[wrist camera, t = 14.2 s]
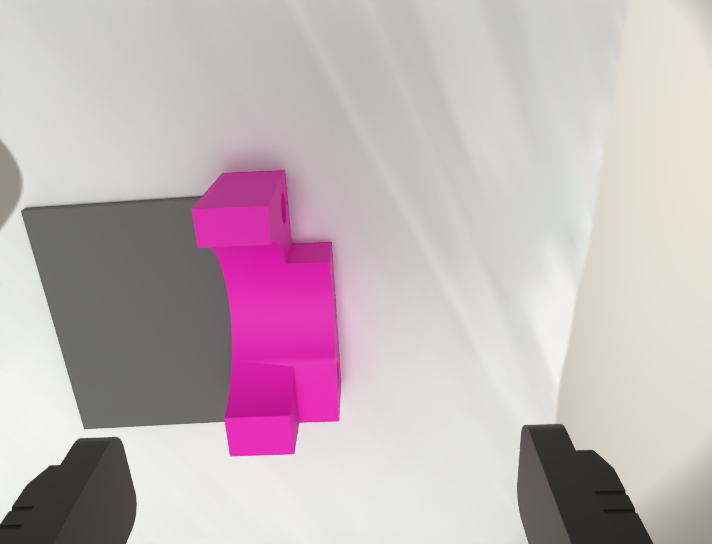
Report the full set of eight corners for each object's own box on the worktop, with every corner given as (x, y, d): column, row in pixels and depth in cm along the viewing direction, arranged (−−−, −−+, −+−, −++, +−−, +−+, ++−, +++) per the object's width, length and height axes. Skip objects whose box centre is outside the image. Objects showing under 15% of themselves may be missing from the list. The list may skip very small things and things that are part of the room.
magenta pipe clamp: (341, 381, 43) (337, 452, 36) (251, 384, 43) (230, 456, 36) (326, 167, 37) (318, 203, 30) (223, 172, 37) (191, 209, 31)
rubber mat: (25, 208, 38) (20, 210, 38) (220, 195, 38) (218, 197, 37) (87, 423, 44) (84, 429, 44) (255, 415, 44) (253, 420, 43)
